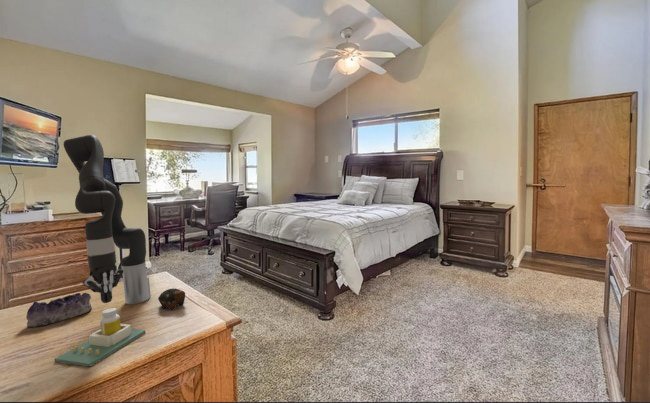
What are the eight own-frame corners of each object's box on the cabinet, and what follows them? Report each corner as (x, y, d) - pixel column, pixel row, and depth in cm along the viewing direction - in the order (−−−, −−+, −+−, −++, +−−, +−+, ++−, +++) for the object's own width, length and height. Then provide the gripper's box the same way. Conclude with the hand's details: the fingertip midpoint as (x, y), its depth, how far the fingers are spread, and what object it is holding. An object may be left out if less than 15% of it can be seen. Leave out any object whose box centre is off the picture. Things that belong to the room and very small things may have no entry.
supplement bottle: (125, 335, 108) (122, 307, 107) (110, 343, 103) (106, 314, 102) (114, 333, 110) (111, 306, 109) (98, 341, 104) (95, 313, 104)
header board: (114, 329, 115) (113, 319, 114) (145, 332, 111) (144, 322, 110) (55, 361, 95) (53, 349, 95) (89, 367, 92) (88, 354, 91)
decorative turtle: (178, 313, 126) (175, 294, 125) (151, 312, 131) (147, 294, 130) (195, 302, 135) (192, 285, 134) (169, 301, 140) (166, 284, 139)
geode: (31, 333, 115) (25, 307, 115) (25, 329, 123) (20, 304, 122) (96, 310, 131) (91, 287, 131) (87, 308, 138) (83, 286, 138)
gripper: (111, 246, 111) (116, 294, 112) (72, 256, 98) (78, 309, 99) (127, 247, 109) (132, 295, 110) (90, 257, 96) (96, 311, 97)
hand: (107, 302), depth 105 cm, fingers closed
